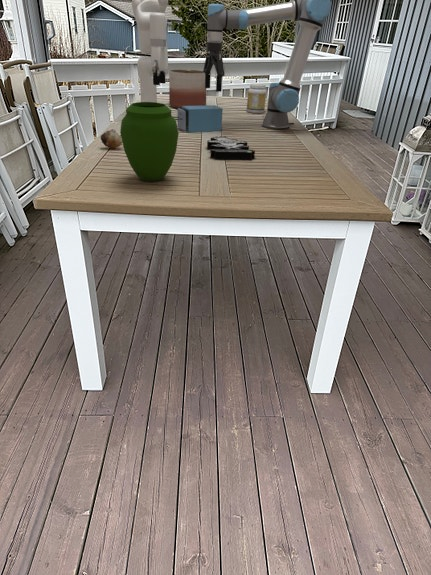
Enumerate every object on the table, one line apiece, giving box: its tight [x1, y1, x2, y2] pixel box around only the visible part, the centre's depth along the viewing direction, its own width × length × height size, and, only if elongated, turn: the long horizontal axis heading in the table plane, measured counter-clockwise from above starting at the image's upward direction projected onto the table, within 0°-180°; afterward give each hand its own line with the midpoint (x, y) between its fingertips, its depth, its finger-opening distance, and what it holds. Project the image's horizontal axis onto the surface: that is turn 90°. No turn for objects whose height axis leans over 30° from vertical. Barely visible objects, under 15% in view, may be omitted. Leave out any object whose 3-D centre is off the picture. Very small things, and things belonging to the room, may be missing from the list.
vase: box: [119, 101, 179, 182], centre depth 140 cm, size 20×20×24 cm
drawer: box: [173, 108, 189, 131], centre depth 217 cm, size 24×9×9 cm, turn 115°
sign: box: [206, 135, 256, 161], centre depth 185 cm, size 19×3×30 cm
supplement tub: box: [246, 83, 267, 114], centre depth 274 cm, size 12×12×17 cm
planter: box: [168, 69, 207, 109], centre depth 278 cm, size 25×25×22 cm
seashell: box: [100, 128, 123, 149], centre depth 178 cm, size 10×6×8 cm, turn 91°
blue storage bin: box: [182, 104, 223, 133], centre depth 220 cm, size 19×10×11 cm, turn 115°
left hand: (159, 84), depth 202 cm, fingers open, 9 cm apart
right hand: (212, 89), depth 212 cm, fingers open, 13 cm apart
